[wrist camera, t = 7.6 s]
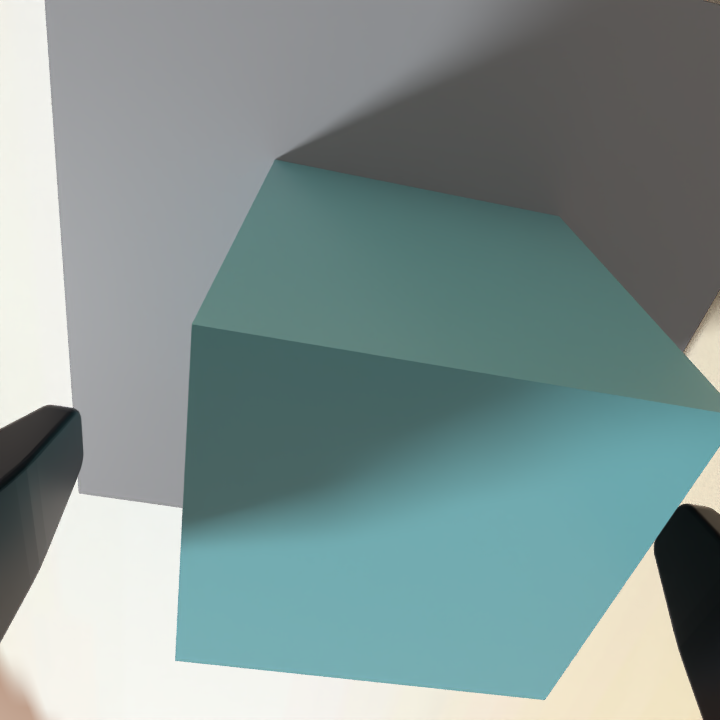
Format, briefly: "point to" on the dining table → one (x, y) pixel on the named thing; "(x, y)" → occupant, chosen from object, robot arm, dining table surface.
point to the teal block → (422, 440)
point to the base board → (356, 160)
